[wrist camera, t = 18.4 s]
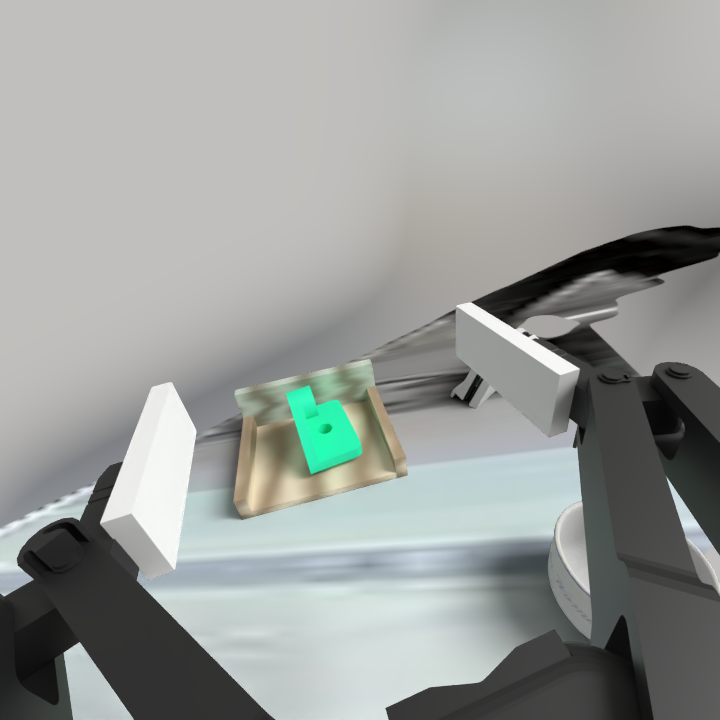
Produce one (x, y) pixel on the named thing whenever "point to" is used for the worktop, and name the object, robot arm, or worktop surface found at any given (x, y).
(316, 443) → the camera mount
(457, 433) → the worktop surface
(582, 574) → the teacup
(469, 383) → the grey rounded piece
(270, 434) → the dock
